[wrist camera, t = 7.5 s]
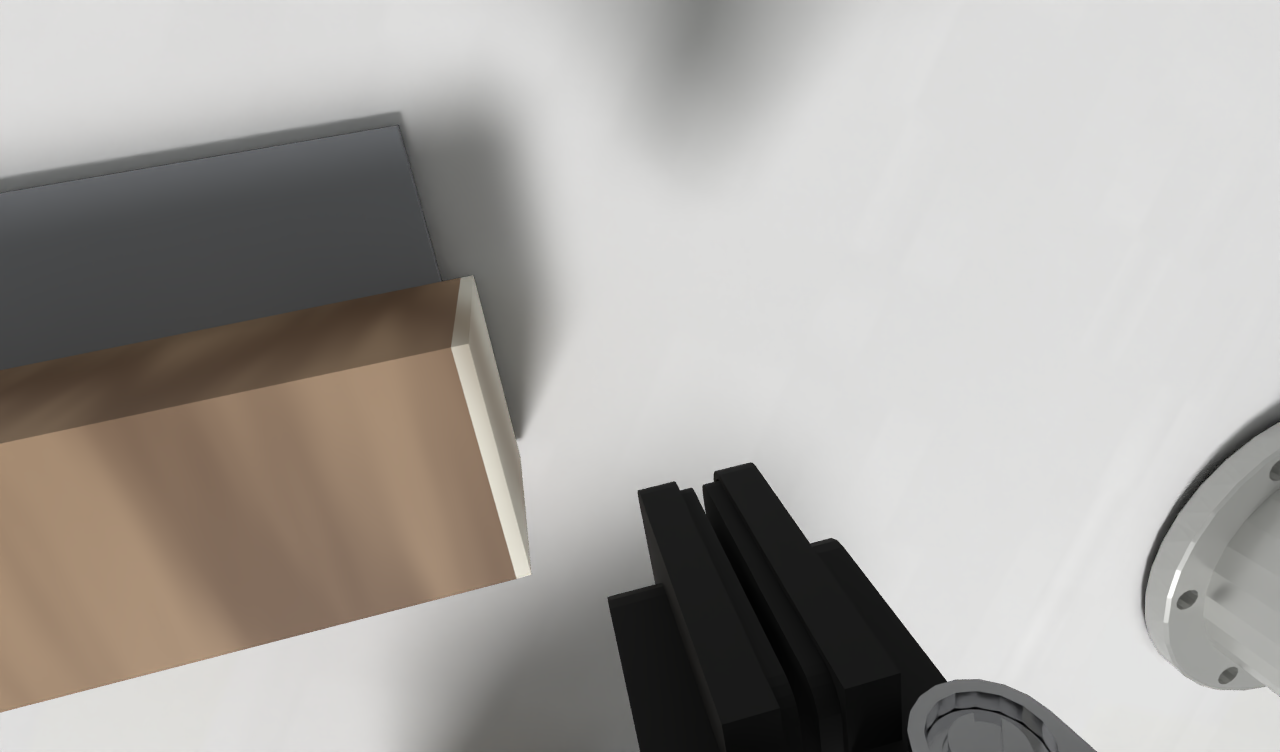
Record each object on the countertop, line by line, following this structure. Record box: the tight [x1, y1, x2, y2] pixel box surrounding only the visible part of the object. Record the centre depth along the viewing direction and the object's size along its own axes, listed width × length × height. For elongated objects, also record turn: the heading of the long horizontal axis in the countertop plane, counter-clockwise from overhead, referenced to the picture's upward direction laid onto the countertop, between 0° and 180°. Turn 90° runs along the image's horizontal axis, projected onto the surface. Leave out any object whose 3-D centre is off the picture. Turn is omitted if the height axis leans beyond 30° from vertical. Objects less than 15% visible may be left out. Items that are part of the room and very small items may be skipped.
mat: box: [0, 125, 442, 370], centre depth 16 cm, size 16×12×1 cm
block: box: [0, 275, 531, 712], centre depth 14 cm, size 5×5×12 cm
